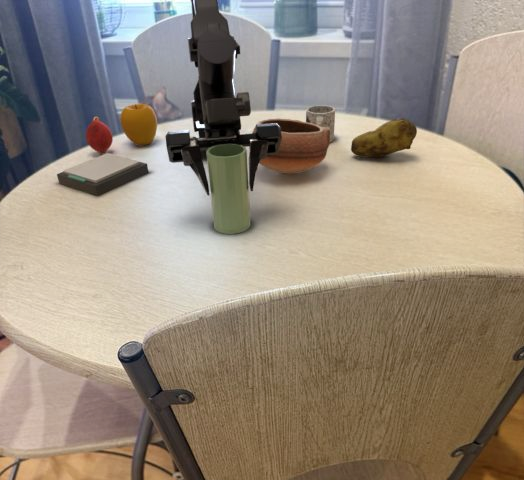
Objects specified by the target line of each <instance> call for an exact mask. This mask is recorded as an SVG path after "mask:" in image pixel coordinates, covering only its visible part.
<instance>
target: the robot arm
mask: <svg viewBox="0 0 524 480" xmlns="http://www.w3.org/2000/svg"><path fill="white" fill-rule="evenodd" d="M190 7H191V8H190V9H191V16H192V19H191V21H190V35H191V37H187V44H188V54H189V60H190V62H191V63H194V67H195V68H197V73H198V77H197V78H198V80H197V82H196V85H195V87H194V90H193V92H192V95H193V100H190V105H191V106H190V107H191V117H192V126H193V132H194V133H197V132H198V137H196V136H191V133H190V129H186V130H185V129H183V130H173V131H167V133H166V135H165V136H164V137H165V145H166V152H167V156H168V161H169V162H170V163H173V164H175V163H183V166H184V167H190V169H191V170H192V171H193V173H194V174H195V175H196V177H197V179H198V180H199V182H200V185H201V186H202V188H203V190H204V192H205V194H206V196H211V192H210V183H209V179H208V176H207V172H206V169H205V165H204V161H203V160H205V161H207V152H206V151H207V150H208V149H209V148H210V147H212V146H215V145H220V144H238V145H242V146H244V147H246V148H247V147H248V149H249V148H250V149H249V153H248V155H249V156H248V186H249V192H254V186H255V180H256V175H257V171H258V167H259V164H260V163H259V162H260V160H262V159H265V158H266V155H269V154H276V153H278V152H279V148H280V144H281V140H282V134H281V128H280V126H279V125H278V124H277V123H269V124H257V123H256V124H257V125H256V124H255V126H256V129H255V133H241V131H242V121H241V117H250V115H251V113H252V110H251V109H252V108H251V107H252V106H251V99H250V93H249V92H248V91H244V92H243V91H242V92H237V93H235V87H234V77H235V67H236V59H238V55H241V45H240V44H239V43H238V41H237V40H236V38H235V36H234V34H231V32H230V27H229V22H228V19H227V18H226V17H225V16H224V15H223V14H222V13H221V12H220V9H219V1H218V0H190Z"/></svg>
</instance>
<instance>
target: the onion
mask: <svg viewBox="0 0 524 480" xmlns="http://www.w3.org/2000/svg"><path fill="white" fill-rule="evenodd" d="M113 139H114V137H113V133H112V130H111V128H110V127H109V126H108V125H106V124H105V123H104V122H102V121H100V117H98V116H94V117H93V119H92V122H91V123H89V124H88V127H87V128H86V132H85V140H86V142H87V144H88V146H89V147H90V148H91V149H92V150H94V151H95V152H98V153H99V154H101V155H104V154H106V153H107V151H108V149H110V148H111V146H112V145H113Z"/></svg>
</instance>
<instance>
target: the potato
mask: <svg viewBox="0 0 524 480" xmlns="http://www.w3.org/2000/svg"><path fill="white" fill-rule="evenodd" d="M417 133H418V128H417V126H416V125H415V124H414V123H413V122H411V121H410V120H408V119H406V118H395V119H392V120H388V121H387V122H385V123H383V124H381V125H380V126H378V127H377V128H375V129H374V130H370V131H369V130H368V131H366V132H364V133H362V134H359V135H357V136H356V137H354V138H353V139H352V141H351V145H350V151H351V152H352V154H354V155H355V156H357V157H360V158H364V157H369V158H371V157H372V158H377V157H378V158H381V157H386V156H389V155H392V154H394V153H398V152H400V151H404V150H410V149H411V148H412V147H411V146H412V145H413V142H414V140H415V138H416V137H417Z"/></svg>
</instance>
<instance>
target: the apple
mask: <svg viewBox="0 0 524 480" xmlns="http://www.w3.org/2000/svg"><path fill="white" fill-rule="evenodd" d="M119 120H120V121H119V122H120V125H121V129H122V131H123V133H124V134H125V136H126V137H127V139H128V140H129V141H130V142H131V143H133V144H134V145H136V146H140V147H141V146H142V147H143V146H147V145H149V144H152V143H153V142H154V140H155V137H156V134H157V129H158V117H157V115H156V113H155V110H154V109H153V107H152V106H150V105H149V104H146V103H134V104H130V105H127V106H125V107H124V108H123V109H122V111H121V113H120V118H119Z"/></svg>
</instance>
